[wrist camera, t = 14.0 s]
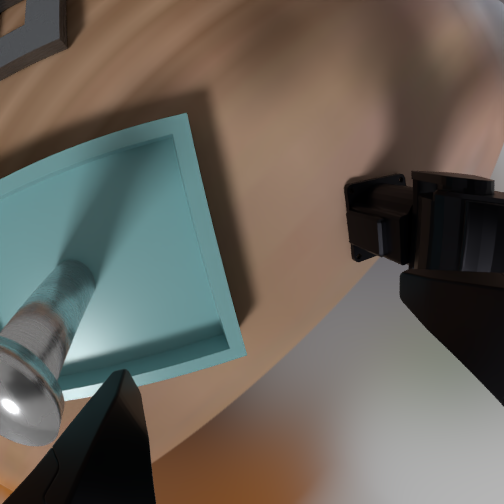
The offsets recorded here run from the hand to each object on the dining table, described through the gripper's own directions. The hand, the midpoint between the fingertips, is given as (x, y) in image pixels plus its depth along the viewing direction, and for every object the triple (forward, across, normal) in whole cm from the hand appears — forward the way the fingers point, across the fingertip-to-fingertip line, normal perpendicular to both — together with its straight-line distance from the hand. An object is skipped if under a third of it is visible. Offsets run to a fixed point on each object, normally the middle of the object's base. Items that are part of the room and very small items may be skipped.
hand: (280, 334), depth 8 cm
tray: (+13, +10, 0) cm, 16 cm away
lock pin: (+12, +10, 0) cm, 16 cm away
